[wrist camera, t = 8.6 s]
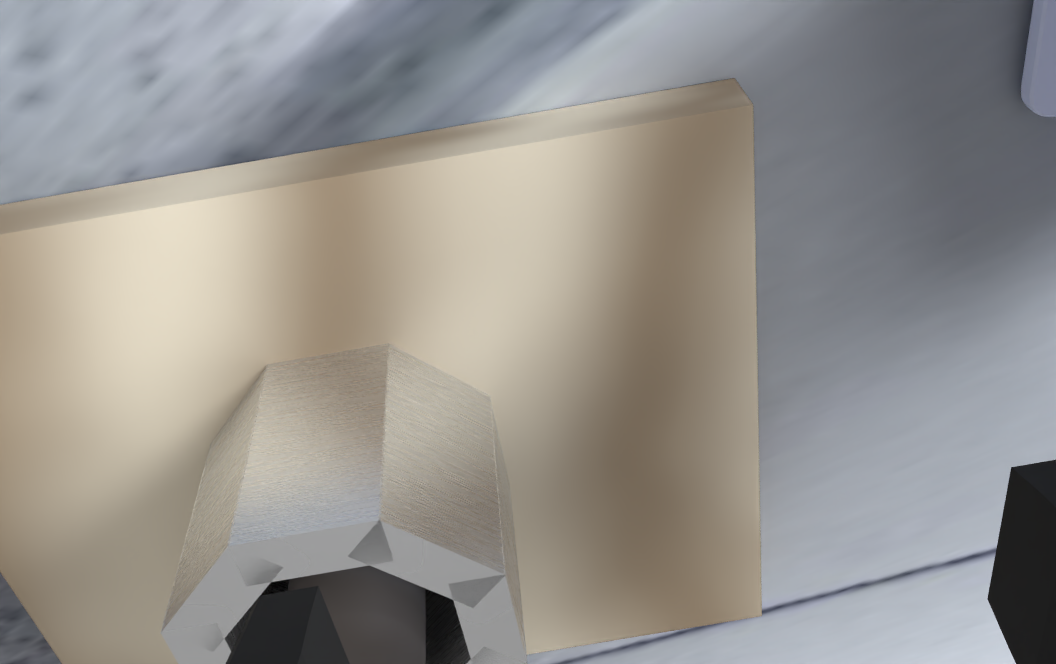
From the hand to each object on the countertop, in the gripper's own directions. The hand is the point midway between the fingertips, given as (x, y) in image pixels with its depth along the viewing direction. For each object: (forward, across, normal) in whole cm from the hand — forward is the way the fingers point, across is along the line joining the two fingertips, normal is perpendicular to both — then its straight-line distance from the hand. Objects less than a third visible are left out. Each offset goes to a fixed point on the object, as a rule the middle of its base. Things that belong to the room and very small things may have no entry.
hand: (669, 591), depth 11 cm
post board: (+9, +5, +5) cm, 12 cm away
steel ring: (+8, +5, +5) cm, 11 cm away
